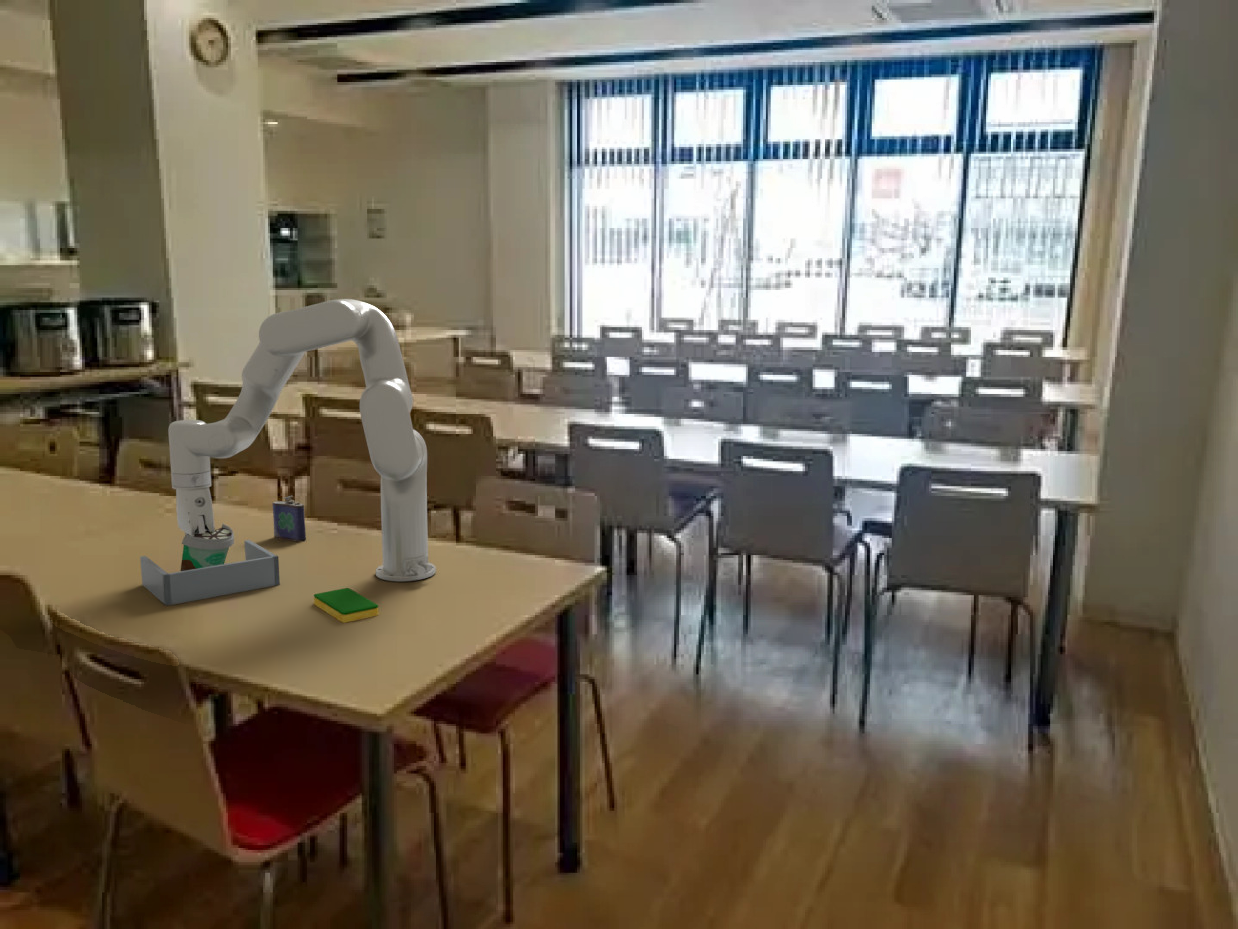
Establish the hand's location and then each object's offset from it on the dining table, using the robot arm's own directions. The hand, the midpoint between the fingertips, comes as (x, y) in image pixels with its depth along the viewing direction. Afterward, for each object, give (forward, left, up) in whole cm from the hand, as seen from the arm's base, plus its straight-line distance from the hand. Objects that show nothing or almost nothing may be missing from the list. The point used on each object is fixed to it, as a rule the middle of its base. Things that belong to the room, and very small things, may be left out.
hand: (196, 564), depth 204 cm
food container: (-5, -1, -2) cm, 5 cm away
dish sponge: (-40, -15, -3) cm, 43 cm away
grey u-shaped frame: (-8, 0, -2) cm, 8 cm away
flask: (+18, -27, -3) cm, 33 cm away
